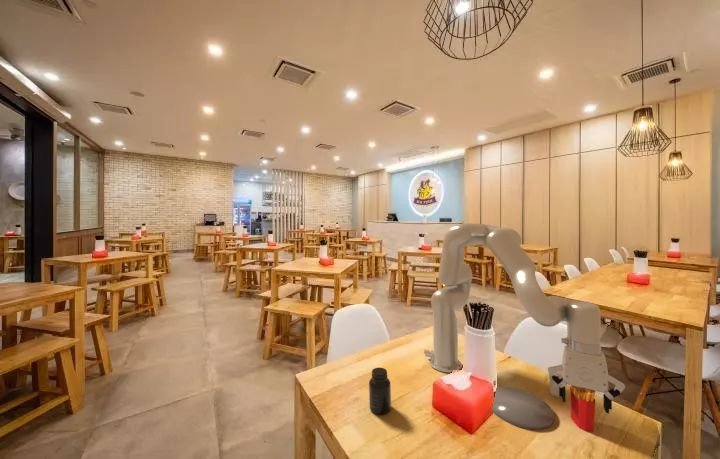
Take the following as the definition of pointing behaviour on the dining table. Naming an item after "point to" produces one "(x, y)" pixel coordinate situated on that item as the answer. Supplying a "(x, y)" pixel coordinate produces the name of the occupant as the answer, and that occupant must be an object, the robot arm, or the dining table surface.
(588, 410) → the french fries
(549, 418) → the plate
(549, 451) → the dining table surface
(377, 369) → the supplement bottle
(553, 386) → the milkshake
